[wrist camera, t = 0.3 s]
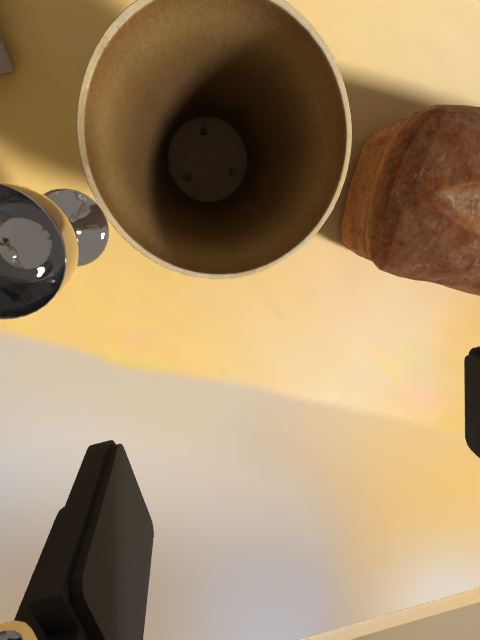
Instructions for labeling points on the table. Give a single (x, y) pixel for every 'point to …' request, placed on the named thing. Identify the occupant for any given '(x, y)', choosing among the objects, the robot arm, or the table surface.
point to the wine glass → (44, 244)
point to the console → (4, 58)
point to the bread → (420, 198)
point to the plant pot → (214, 133)
